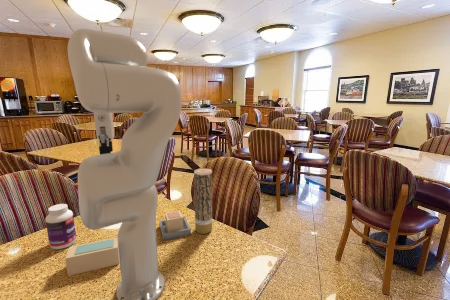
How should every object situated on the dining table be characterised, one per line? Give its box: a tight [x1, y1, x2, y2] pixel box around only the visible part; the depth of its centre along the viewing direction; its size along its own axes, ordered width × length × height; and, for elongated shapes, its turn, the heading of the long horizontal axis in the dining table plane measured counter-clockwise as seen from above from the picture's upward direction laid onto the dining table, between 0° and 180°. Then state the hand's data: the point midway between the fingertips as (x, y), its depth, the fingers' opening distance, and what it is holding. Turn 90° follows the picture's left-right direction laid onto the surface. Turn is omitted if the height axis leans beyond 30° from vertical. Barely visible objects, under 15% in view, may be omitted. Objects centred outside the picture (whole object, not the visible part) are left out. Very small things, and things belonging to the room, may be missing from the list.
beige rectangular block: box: [64, 236, 120, 277], centre depth 73 cm, size 6×14×6 cm, turn 112°
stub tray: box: [158, 216, 192, 241], centre depth 93 cm, size 11×11×2 cm
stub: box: [164, 210, 184, 232], centre depth 92 cm, size 6×6×6 cm
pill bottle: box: [45, 203, 77, 250], centre depth 82 cm, size 8×8×14 cm
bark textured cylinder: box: [193, 167, 213, 235], centre depth 91 cm, size 7×7×25 cm
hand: (106, 154), depth 81 cm, fingers open, 9 cm apart
